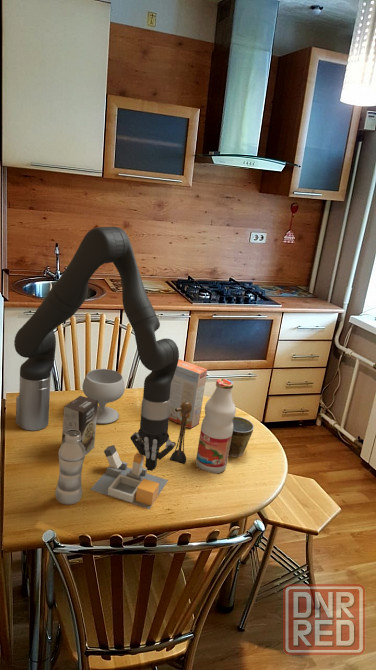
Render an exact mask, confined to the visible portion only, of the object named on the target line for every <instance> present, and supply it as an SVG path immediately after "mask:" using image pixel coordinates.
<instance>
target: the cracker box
mask: <svg viewBox="0 0 376 670" xmlns="http://www.w3.org/2000/svg"><path fill="white" fill-rule="evenodd" d="M207 373H208V368H204V367H202V366H199V365H196V364H193V363H192V362H187V361H185V360H182V359H179V360H178V364H177V368H176V371H175V374H174V377H173V379H172V382H171V390H170V414H169V420H170V421H172V422H173V423H174V422H175V423H176V424H178V425H181V421H182V416H183V414H182V413H181V412H180V411H178V412H176V411H175V408H180V406H181V404H182V403H184V402H186V401H188V402H190V403H191V405H192V410H191V411H190V412H189V413H188V414H186V416H187V421H186V428H188V429H190V430H191V429H193V428H194V427H197V426H198V425H199V424H200V421H201V420H200V419H201V414H202V407H203V400H204V394H205V388H206V381H207V375H208V374H207Z"/></svg>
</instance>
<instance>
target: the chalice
mask: <svg viewBox="0 0 376 670" xmlns="http://www.w3.org/2000/svg"><path fill="white" fill-rule="evenodd" d="M125 388H126V386H125V380H124V378H123V375H122V374H121V373H120V372H118V371H116V370H113V369H108V368H96V369H93V370H90V371H89V372H88V373H87V374H86V375H85V377H84V379H83V381H82V388H81V389H82V392H83V394H84V395H85V397H87V398H91V399H94V400H97V401H98V408H97V419H96V424H102V425H104V424H112V423H114V422H116V421H118V420H119V417H120V413H119V412H118V411H117V410H116V409H114V408H112V407H109V406H106V405H107V404H108V403H113V402H115V401H116V402H117V400H120V399H121V398H122V396H124V393H125Z"/></svg>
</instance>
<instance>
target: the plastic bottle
mask: <svg viewBox="0 0 376 670" xmlns="http://www.w3.org/2000/svg"><path fill="white" fill-rule="evenodd" d="M80 441H81V432H80V431H79V430H75V429H71V430H67V431H66V433H65V442H64V443H63V444H62V443H61V445H60V446H59V448H58V449H59V450H58V462H59V475H58V480H57V481H58V482H57V485H56V489H55V499H56V501H57V502H58V503H60V504H62V505H66V506H68V505H74V504H77V503H79V501H80V500H81V498H82V495H83V486H82V471H83V465H84V461H85V457H86V455H85V453H86V451H85V447H84V446H83V444H82V443H81V442H80Z"/></svg>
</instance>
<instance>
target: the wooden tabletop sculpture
mask: <svg viewBox="0 0 376 670" xmlns="http://www.w3.org/2000/svg"><path fill="white" fill-rule="evenodd" d="M191 410H192V405H191V403H190V402H188V401H186V402H184V403H182V404H181V406H180V408H175V411H176V412H178V411H180V412H181V413H182V414H183V416H182V421H181V424H180V428H179V435H178V439H177V442H176V445H175V449H174V451H173V452H172V453H171V455H170V461H171V462H175V463H179V464H181V465H182V464H183V465H185V464H186V462H187V456H186V453H185V434H186V428H187V427H186V421H187V416H186V414H188V413H189V412H190V411H191Z"/></svg>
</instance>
